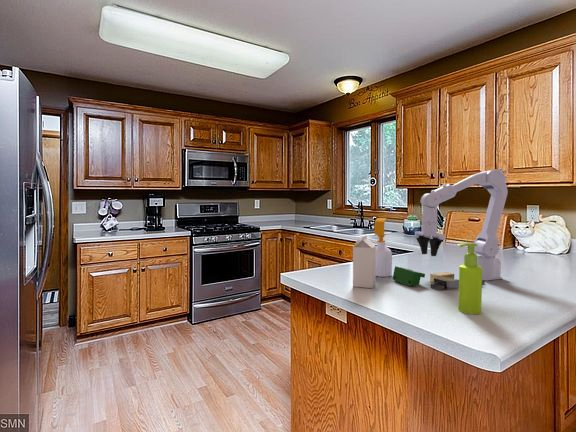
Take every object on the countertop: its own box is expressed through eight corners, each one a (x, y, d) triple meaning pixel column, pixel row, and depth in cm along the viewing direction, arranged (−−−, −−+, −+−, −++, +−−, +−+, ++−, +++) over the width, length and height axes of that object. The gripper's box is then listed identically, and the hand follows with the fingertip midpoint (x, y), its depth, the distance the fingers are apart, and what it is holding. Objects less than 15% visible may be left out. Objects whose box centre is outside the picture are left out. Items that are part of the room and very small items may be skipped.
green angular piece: (418, 296, 128) (429, 277, 125) (405, 294, 126) (417, 274, 123) (401, 278, 138) (411, 259, 135) (389, 275, 136) (400, 257, 133)
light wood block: (447, 279, 137) (447, 272, 136) (454, 281, 133) (454, 273, 133) (430, 282, 133) (430, 274, 133) (437, 284, 130) (437, 275, 130)
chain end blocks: (471, 280, 134) (471, 273, 134) (485, 284, 128) (485, 276, 128) (427, 286, 125) (427, 278, 125) (440, 290, 120) (440, 282, 120)
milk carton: (375, 284, 129) (375, 235, 128) (371, 288, 123) (372, 237, 122) (357, 282, 132) (357, 234, 131) (352, 286, 126) (352, 236, 125)
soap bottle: (394, 273, 147) (394, 217, 145) (388, 278, 139) (388, 219, 138) (374, 271, 151) (374, 217, 150) (367, 275, 144) (367, 218, 142)
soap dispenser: (451, 307, 101) (452, 242, 100) (472, 307, 102) (474, 241, 101) (462, 314, 95) (464, 244, 94) (485, 313, 96) (487, 244, 95)
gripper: (409, 221, 144) (408, 253, 144) (436, 223, 130) (435, 258, 131) (422, 221, 146) (421, 251, 147) (449, 223, 133) (448, 257, 134)
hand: (429, 255), depth 139 cm, fingers open, 4 cm apart
